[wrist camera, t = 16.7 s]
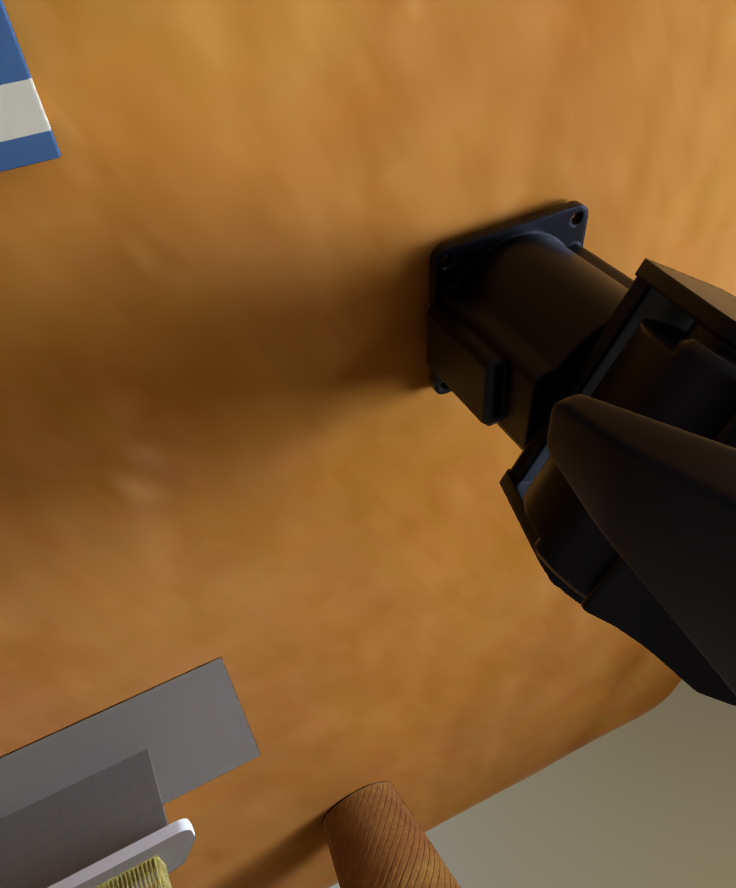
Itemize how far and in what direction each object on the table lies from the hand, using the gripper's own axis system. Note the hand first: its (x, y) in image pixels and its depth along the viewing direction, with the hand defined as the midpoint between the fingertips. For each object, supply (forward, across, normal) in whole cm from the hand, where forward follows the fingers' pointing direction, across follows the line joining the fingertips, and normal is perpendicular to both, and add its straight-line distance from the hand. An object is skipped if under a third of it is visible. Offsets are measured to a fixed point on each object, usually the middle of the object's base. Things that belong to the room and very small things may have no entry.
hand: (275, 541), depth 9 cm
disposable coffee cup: (+13, -3, +52) cm, 54 cm away
